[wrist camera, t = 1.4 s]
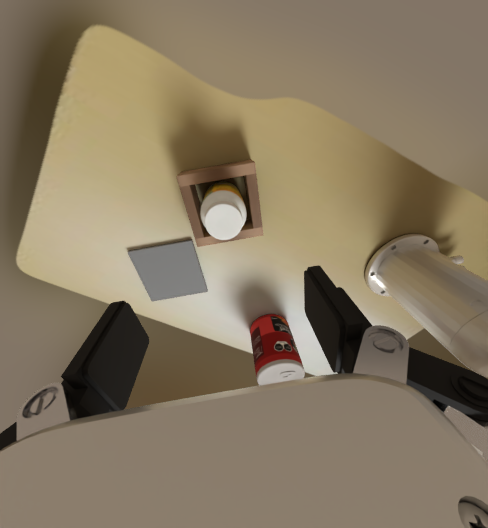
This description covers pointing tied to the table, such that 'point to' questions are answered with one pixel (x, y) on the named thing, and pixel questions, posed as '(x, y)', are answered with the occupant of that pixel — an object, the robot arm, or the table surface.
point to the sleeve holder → (214, 173)
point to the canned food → (274, 351)
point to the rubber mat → (169, 270)
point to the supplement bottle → (223, 211)
